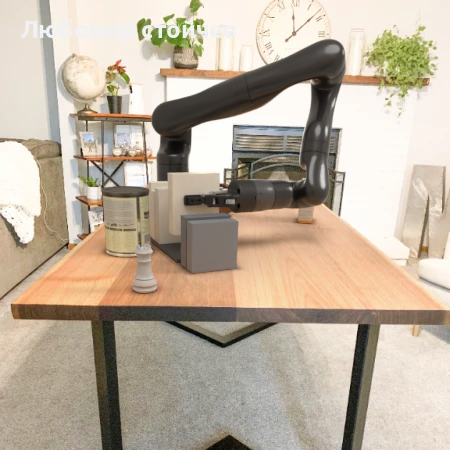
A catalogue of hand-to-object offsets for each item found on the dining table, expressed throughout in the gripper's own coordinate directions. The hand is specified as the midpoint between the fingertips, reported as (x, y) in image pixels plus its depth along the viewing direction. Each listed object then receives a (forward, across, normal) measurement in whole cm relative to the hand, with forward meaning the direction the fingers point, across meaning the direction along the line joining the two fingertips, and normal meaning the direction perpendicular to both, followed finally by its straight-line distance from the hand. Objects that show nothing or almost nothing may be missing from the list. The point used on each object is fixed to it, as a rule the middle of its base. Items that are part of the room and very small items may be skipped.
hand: (181, 199), depth 97 cm
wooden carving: (-30, -44, +13) cm, 54 cm away
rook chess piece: (+14, +20, +12) cm, 27 cm away
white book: (-3, 0, +8) cm, 8 cm away
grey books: (-2, +10, +12) cm, 16 cm away
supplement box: (-51, -25, +13) cm, 59 cm away
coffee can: (+11, -6, +12) cm, 18 cm away
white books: (-3, -7, +12) cm, 14 cm away
